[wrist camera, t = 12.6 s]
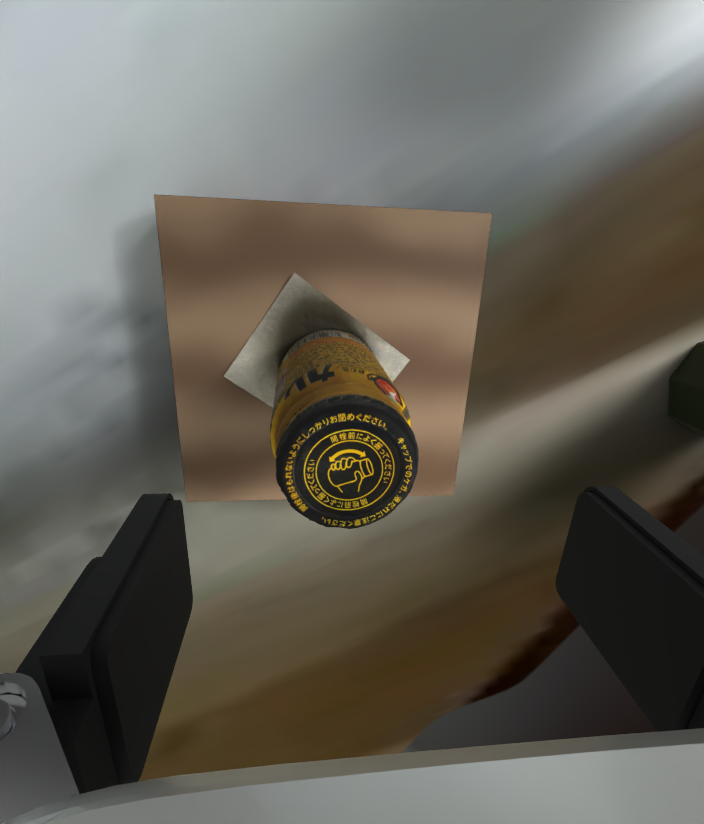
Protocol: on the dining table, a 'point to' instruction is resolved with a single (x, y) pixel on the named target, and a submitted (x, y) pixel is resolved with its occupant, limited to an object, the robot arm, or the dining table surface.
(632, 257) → the dining table surface
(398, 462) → the condiment
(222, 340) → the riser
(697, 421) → the wine bottle
